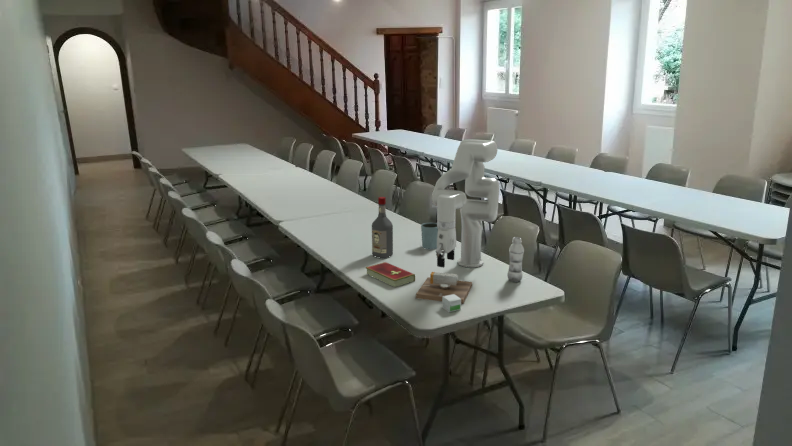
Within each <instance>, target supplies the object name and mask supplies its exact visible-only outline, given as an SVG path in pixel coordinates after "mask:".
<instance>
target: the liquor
mask: <svg viewBox="0 0 792 446" xmlns="http://www.w3.org/2000/svg"><path fill="white" fill-rule="evenodd" d="M386 199H387V198H386V196H379V197H377V200H378V202H377V203H378V214H377V216H376V218H375V219H374V221H373V222H372V224H371V254H372V257H374V256H376V257H375V258H377V257H380V258H379V259H381V258H384V259H387V257H388V258H390V257H393V255H394V243H393V242H394V233H393V232H394V228H393V227H394V226H393V222H392V221H391V220H390V219H389V217H387V213H386V211H387V210H386V204H387V203H386V202H387V201H386ZM389 256H390V257H389Z"/></svg>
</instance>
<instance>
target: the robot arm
mask: <svg viewBox="0 0 792 446" xmlns="http://www.w3.org/2000/svg"><path fill="white" fill-rule="evenodd" d="M497 155H498V145H497V142H496V141H494V140H489V139H488V140H487V139H486V140H485V139H472V138H471V139H468V138H467V139H463V140H461V141H460V143H459V145H458V147H457V150H456V153H455V157H454V160H453V163H452V165H451V168H450V169H449V170H447V171H446V172H445V173H443V174H442V175H441V176H440V177H439V178H438V179H437V180H436V183H435V186H434V188H433V191H432V194H431V195H432V196H431V197H432V199H431V201H432V204H433V205H434V206H436V209H437V210H436V212H437V214H436V215H437V217H436V220H437V222H436V223H437V228H438V235H437V248H436V249H435V255H436V258H437V259H436V266H437V267H438V268H445V267H446V266H445V265H446V263H445V262H446V260H445V259H447V260H450V261H454V260H455V250H456V248H457V230H456V221H457V220H456V212H457V211H456V210H460V211H459V212H460V219H461V237H460V238H461V239H460V241H461V242H460V244H461V245H460V258H458V259H457V264H458V265H459V266H461V267H464V268H478V267H479V268H480V267H482V266H483V265H484V264H485V261H484V260H483V259H482V257H481V256H482V232H483V231H482V230H483V229H482V226H481V223H480V222H490V223H491V222H494V221H496V220H497V218H498V211H499V197H500V182H499V181H498V179H496V178H493V177H485V164H484V163H488V162H491V161H493V160H494V159H495V158H496V156H497ZM464 180H465V181H464ZM461 181H464V182H465V184H464V191H465V192H464V191H461V190H457V189H456V190H455V189H446V188H447V187H448V186H449V185H452V184H455V183H458V182H461ZM467 196H468V197H471V198H472V197H473V198H483V199H487V200H480V199H468V198H467ZM479 221H480V222H479ZM445 256H446V258H445Z"/></svg>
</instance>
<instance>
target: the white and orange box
mask: <svg viewBox="0 0 792 446" xmlns="http://www.w3.org/2000/svg"><path fill="white" fill-rule="evenodd" d="M457 280H458V274H457V273H449V272H447V273H446V272H435V271H431V273H430V284H440V288H441V289H449V288H450V285H454V286H456V285H457Z"/></svg>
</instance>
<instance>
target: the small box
mask: <svg viewBox="0 0 792 446" xmlns="http://www.w3.org/2000/svg"><path fill="white" fill-rule="evenodd" d="M441 304H442V305H441V306H442V309H443V310H446V311H447V312H448V313H451V312H455V311H461V309H462V304H461V298H459V297H458V296H456V295H455V294H452V295H447V296H443V297H442V301H441Z"/></svg>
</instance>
